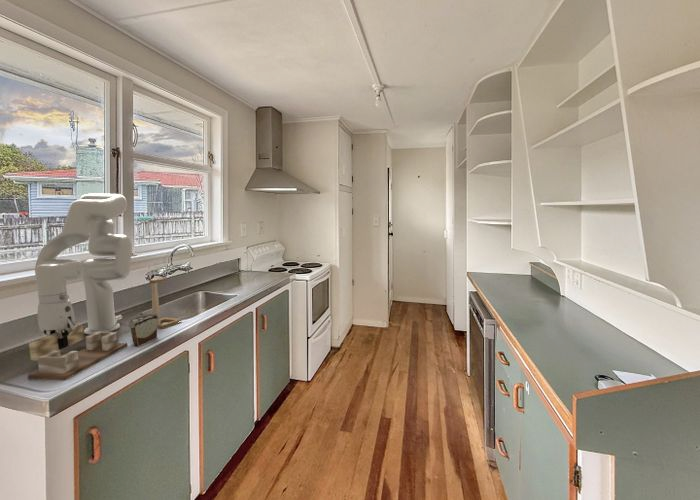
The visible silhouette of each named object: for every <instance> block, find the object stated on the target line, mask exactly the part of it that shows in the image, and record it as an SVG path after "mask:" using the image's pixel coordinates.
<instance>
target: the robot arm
mask: <svg viewBox="0 0 700 500" xmlns="http://www.w3.org/2000/svg"><path fill="white" fill-rule="evenodd" d="M127 208H128V202H127V199H126V197H125V196H124V195H122V194H119V193H88V194H87V193H86V194H83V195H81V197H80V199H76V200H74V201H72V202H71V204H70V206H69V208H68V211H67V214H66V218H65V220H64V221H65V222H64V224H63V227H62V230H61V232H60V233H59V234H58V235H56V236H54V237H53V238H51V240H49V241H48V242H47V243H46V244H45V245H44V246H43V247H42V248H41V249H40V251H39V254H38V257H37V258H36V262H35V265H34V266H35V267H34V274H35V282H36V290H37V297H38V303H37V324H38V327H39V328H38V331H40V332H42V333H43V334H44V335H45V336H48V335H51V334H53V333H55V332H58V335H59V339H58V346H59V349H62V350H64V349H65V347H66V348H68V347H69V346H68V338H67V336H68V335H69V333H70V332H72V331H74V330H75V327H74V326H75V325H76V324H77V321H76V316H75V315H76V314H75V312H74V311H75V310H74V308H73V304H72V303H71V300H69V298H70V296H69V295H68V291H67V281H69V280H70V281H71V280H77V279H79V278H82V281H83V285H84V292H85V294H84V295H85V304H86V315H87V326H88V327H86V328H84V329H83V334H86V335H91V334H93V333H96V332H115V330H118V329H120V327H121V325H120V323H118V321H119V320H121V319H123V315H121V314H119V315H115V312H116V311H115V304H114V303H115V301H114V290H113V287H112V285H111V284H110V283H109V282H108V281H122V280H125V279H127V278H128V277H129V274H130V273H131V272H130V271H131V262H132V252H133V243H132V241H131V238H130V237H129V236H127V235H126V234H115V224H114V222H113V220H114V219H115V218H117V217H119V216H120V215H122V214H123V213H125V212H126V211H127ZM86 241H88V244H87V245H88V247H87V248H88V249H87V250H88V252H89V254H90V255H92V256H96V257H115V258H91V259H87V260H85V261H81V260H80V259H74V258H73V259H71V258H70V259H69V258H67V259H65V258H64V259H63V258H61V259H60V258H59V259H58V258H57V257H58V256H59V255H60V254H61V253H62V252H64V251H65V250H67V249H69V248H71V247H74V246H77V245H79V244H82V243H84V242H86ZM63 331H64V332H63ZM67 346H68V347H67ZM63 348H64V349H63Z"/></svg>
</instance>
